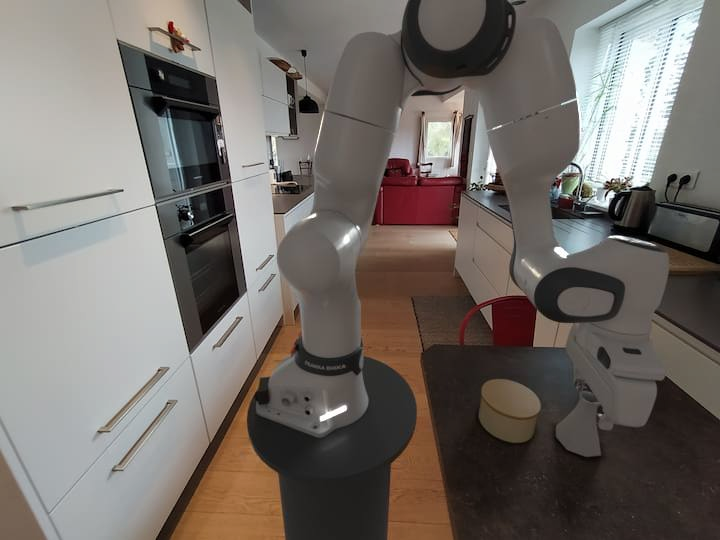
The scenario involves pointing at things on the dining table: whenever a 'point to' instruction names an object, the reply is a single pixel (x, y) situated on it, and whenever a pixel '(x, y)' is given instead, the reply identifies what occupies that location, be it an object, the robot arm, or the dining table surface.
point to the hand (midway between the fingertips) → (590, 405)
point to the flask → (581, 427)
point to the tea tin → (508, 410)
